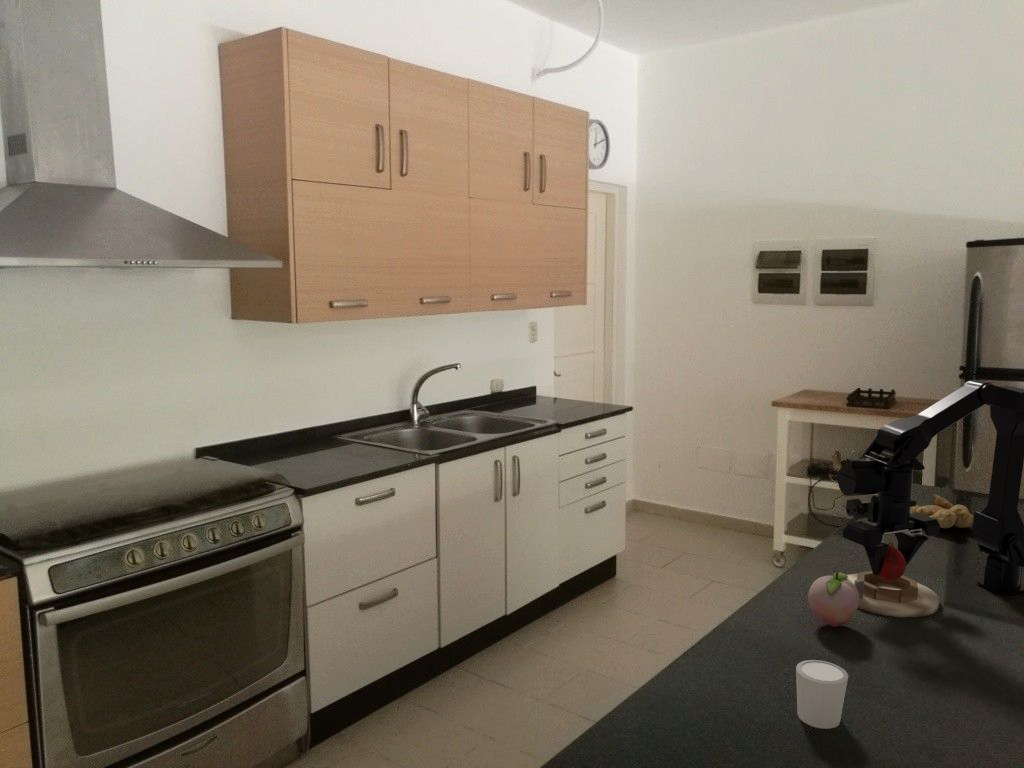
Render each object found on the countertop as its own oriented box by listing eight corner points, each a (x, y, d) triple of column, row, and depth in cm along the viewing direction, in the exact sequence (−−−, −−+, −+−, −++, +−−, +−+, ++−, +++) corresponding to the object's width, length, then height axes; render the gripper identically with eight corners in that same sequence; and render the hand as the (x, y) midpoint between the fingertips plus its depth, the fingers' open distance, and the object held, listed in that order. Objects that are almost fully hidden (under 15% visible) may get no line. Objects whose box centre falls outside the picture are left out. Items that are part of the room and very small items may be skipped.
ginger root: (995, 532, 192) (989, 499, 191) (926, 547, 193) (920, 514, 192) (960, 514, 208) (955, 483, 207) (897, 528, 208) (891, 497, 207)
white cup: (784, 705, 120) (788, 659, 119) (831, 703, 120) (834, 658, 119) (805, 732, 113) (808, 684, 112) (854, 730, 114) (857, 682, 112)
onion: (907, 590, 154) (911, 548, 153) (874, 587, 155) (877, 546, 154) (900, 578, 160) (903, 538, 159) (868, 575, 161) (871, 536, 160)
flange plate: (884, 573, 170) (885, 554, 169) (961, 608, 153) (963, 586, 153) (814, 586, 163) (816, 566, 162) (887, 624, 146) (889, 601, 146)
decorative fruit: (809, 611, 151) (813, 559, 150) (858, 620, 148) (862, 567, 146) (803, 632, 143) (806, 576, 141) (854, 642, 139) (858, 585, 138)
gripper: (897, 477, 166) (891, 552, 168) (824, 486, 159) (818, 564, 161) (945, 491, 156) (938, 571, 158) (869, 502, 149) (863, 585, 151)
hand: (888, 572), depth 157 cm, fingers closed on onion, 6 cm apart
